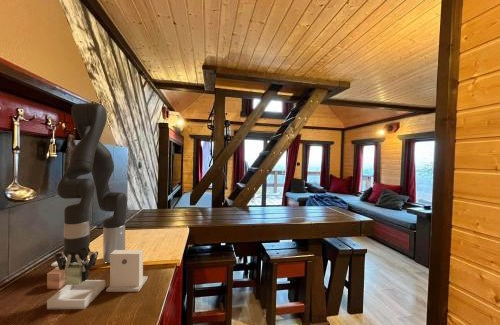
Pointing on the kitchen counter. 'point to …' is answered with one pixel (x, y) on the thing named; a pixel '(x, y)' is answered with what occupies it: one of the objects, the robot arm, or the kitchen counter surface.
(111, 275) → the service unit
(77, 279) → the sage block
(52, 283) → the terracotta block
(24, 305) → the kitchen counter surface
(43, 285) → the kitchen counter surface
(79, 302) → the tray
